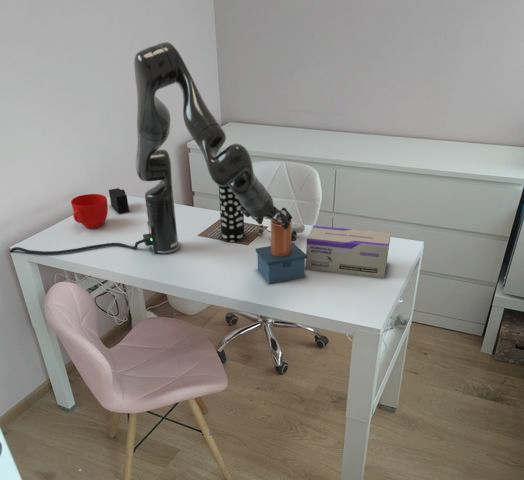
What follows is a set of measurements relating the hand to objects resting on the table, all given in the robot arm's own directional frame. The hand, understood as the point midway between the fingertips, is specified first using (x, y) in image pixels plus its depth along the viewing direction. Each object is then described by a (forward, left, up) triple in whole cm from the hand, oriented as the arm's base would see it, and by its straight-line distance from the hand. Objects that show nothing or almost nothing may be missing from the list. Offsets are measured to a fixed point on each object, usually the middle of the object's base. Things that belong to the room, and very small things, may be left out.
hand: (274, 224), depth 159 cm
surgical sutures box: (+25, 0, -19) cm, 31 cm away
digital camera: (-34, +81, -19) cm, 90 cm away
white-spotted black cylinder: (-1, +36, -19) cm, 41 cm away
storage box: (+4, +3, -18) cm, 19 cm away
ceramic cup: (-48, +66, -19) cm, 84 cm away
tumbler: (+3, +3, -11) cm, 12 cm away
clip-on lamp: (+14, +29, -19) cm, 37 cm away
